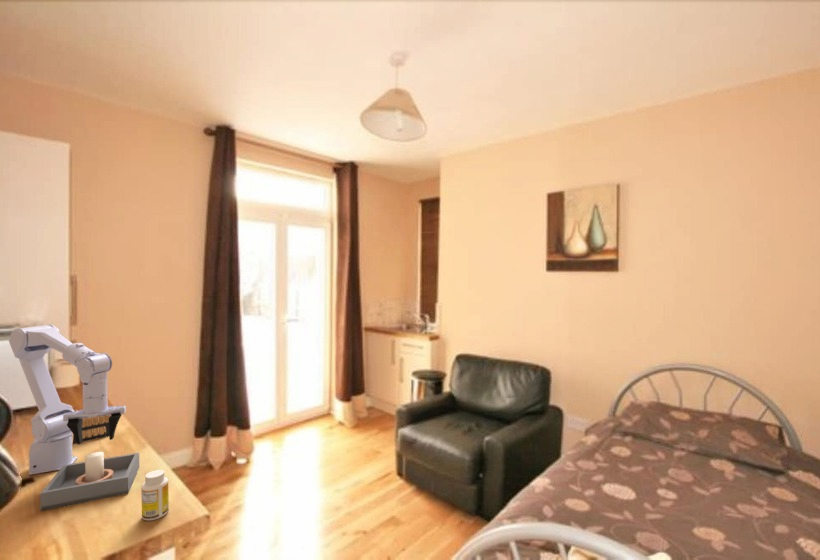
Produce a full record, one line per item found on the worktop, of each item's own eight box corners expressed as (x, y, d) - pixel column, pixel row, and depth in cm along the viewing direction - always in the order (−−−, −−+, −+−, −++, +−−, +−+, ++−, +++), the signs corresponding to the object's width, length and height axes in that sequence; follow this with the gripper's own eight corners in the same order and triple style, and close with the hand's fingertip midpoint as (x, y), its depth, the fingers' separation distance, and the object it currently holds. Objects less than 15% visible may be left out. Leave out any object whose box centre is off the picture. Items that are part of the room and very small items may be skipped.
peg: (83, 488, 106) (83, 459, 106) (88, 481, 109) (87, 453, 109) (101, 485, 107) (101, 456, 107) (105, 478, 111) (105, 450, 111)
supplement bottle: (164, 505, 100) (163, 465, 100) (172, 513, 96) (171, 472, 96) (138, 515, 96) (138, 474, 95) (145, 525, 92) (145, 482, 92)
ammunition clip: (73, 444, 136) (72, 410, 136) (72, 442, 137) (72, 408, 137) (111, 435, 143) (111, 403, 143) (111, 434, 144) (110, 401, 144)
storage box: (40, 511, 97) (40, 493, 97) (63, 480, 112) (63, 465, 112) (128, 493, 105) (128, 477, 105) (139, 467, 119) (139, 452, 119)
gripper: (58, 403, 109) (59, 451, 110) (122, 395, 116) (122, 441, 116) (67, 395, 116) (68, 441, 116) (127, 389, 122) (127, 432, 122)
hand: (96, 440), depth 116 cm, fingers open, 7 cm apart
